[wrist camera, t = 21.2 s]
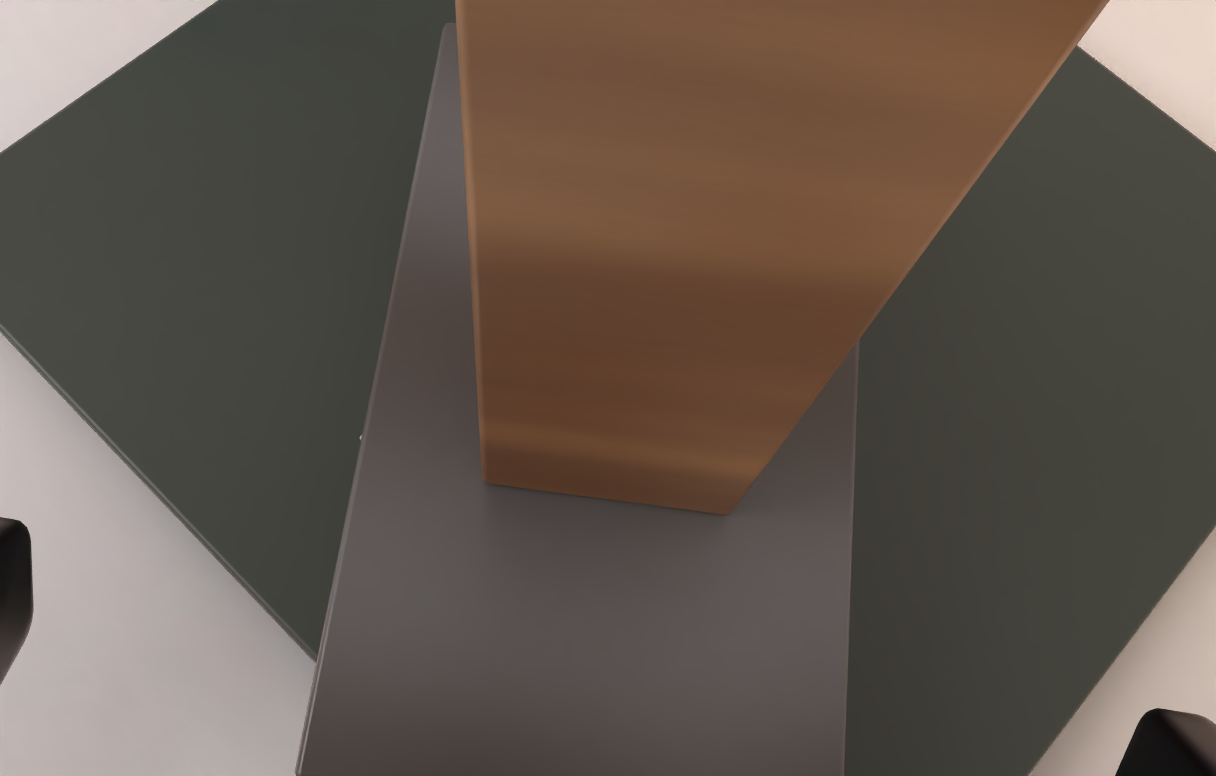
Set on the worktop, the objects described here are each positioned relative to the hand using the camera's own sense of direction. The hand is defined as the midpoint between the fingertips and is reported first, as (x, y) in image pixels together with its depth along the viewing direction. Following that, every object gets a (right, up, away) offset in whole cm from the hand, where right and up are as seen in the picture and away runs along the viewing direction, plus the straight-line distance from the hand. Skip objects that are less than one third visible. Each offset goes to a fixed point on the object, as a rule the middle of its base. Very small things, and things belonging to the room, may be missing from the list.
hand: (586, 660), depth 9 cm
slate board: (+1, +4, +9) cm, 10 cm away
